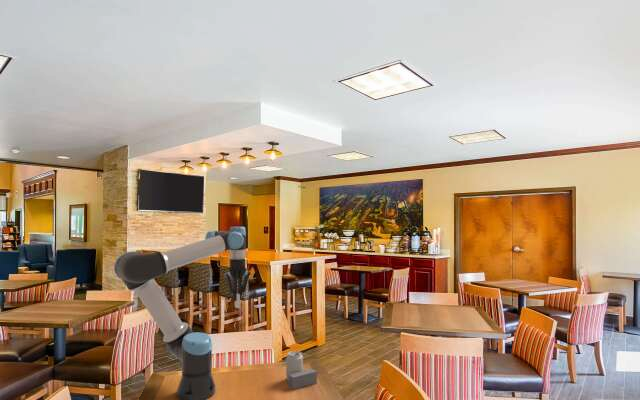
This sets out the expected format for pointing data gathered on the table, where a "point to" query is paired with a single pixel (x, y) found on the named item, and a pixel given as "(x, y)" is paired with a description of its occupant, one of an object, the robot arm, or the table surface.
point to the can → (293, 363)
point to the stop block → (302, 379)
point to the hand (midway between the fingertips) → (237, 307)
